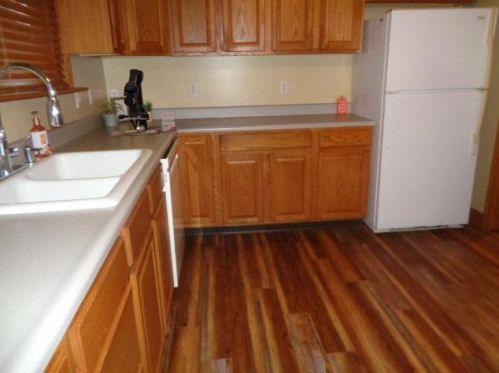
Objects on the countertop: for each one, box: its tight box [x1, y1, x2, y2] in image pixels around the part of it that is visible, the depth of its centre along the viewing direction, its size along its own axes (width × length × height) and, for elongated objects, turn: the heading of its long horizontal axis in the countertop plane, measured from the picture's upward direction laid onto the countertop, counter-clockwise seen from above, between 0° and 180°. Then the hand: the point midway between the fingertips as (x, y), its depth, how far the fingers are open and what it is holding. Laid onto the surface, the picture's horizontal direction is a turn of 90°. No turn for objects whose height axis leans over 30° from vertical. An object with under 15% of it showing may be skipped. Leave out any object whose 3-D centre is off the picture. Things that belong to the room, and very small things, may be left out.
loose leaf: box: [125, 125, 141, 133], centre depth 243 cm, size 9×10×4 cm
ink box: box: [159, 112, 177, 132], centre depth 255 cm, size 8×5×12 cm, turn 114°
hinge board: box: [110, 125, 159, 138], centre depth 243 cm, size 12×28×5 cm, turn 104°
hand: (135, 129), depth 243 cm, fingers closed
